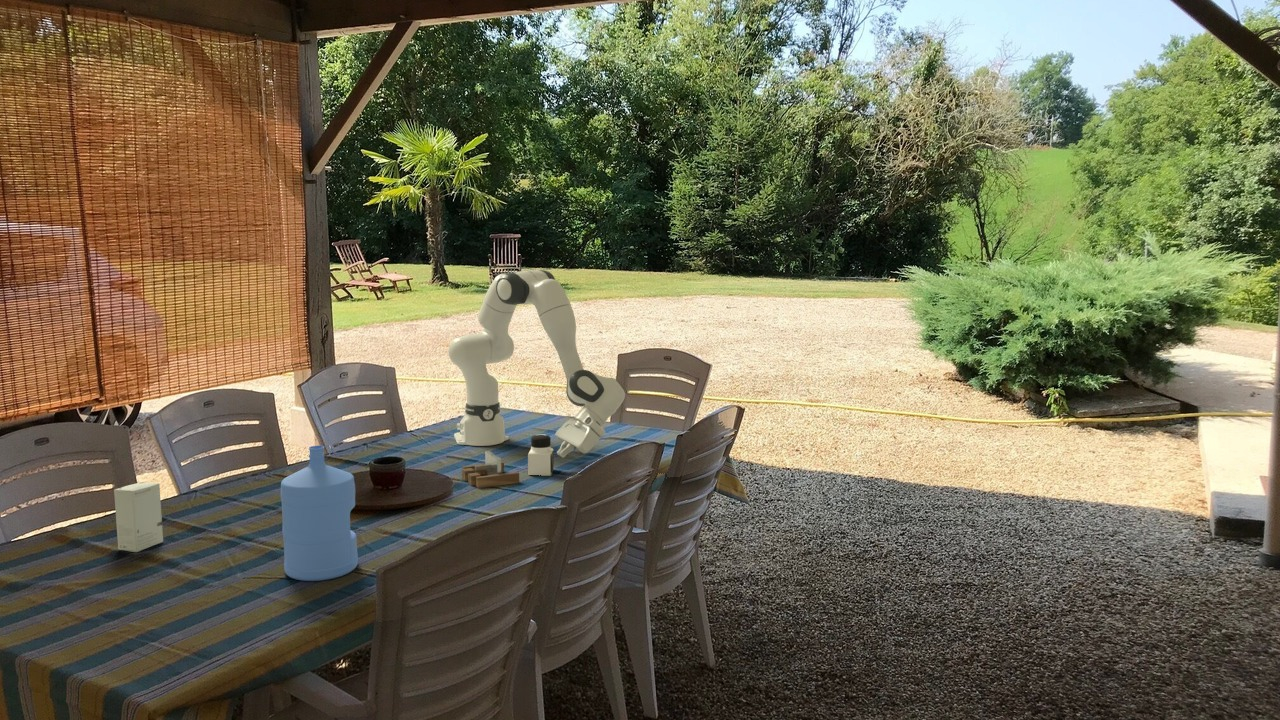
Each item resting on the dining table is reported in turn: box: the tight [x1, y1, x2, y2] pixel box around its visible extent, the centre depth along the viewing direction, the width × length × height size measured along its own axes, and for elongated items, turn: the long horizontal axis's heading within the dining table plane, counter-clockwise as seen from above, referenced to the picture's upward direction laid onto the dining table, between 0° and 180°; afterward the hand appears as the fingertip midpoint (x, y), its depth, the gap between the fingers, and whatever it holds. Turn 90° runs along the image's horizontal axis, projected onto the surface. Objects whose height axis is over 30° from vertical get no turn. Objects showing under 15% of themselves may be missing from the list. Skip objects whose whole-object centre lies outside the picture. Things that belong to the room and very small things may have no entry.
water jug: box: [279, 445, 359, 582], centre depth 203 cm, size 16×16×28 cm
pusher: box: [475, 450, 502, 476], centre depth 277 cm, size 11×6×7 cm, turn 28°
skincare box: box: [113, 481, 164, 553], centre depth 217 cm, size 8×6×15 cm
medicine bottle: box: [527, 433, 555, 477], centre depth 285 cm, size 7×7×12 cm
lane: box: [461, 461, 520, 489], centre depth 278 cm, size 15×14×3 cm
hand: (559, 455), depth 288 cm, fingers closed
